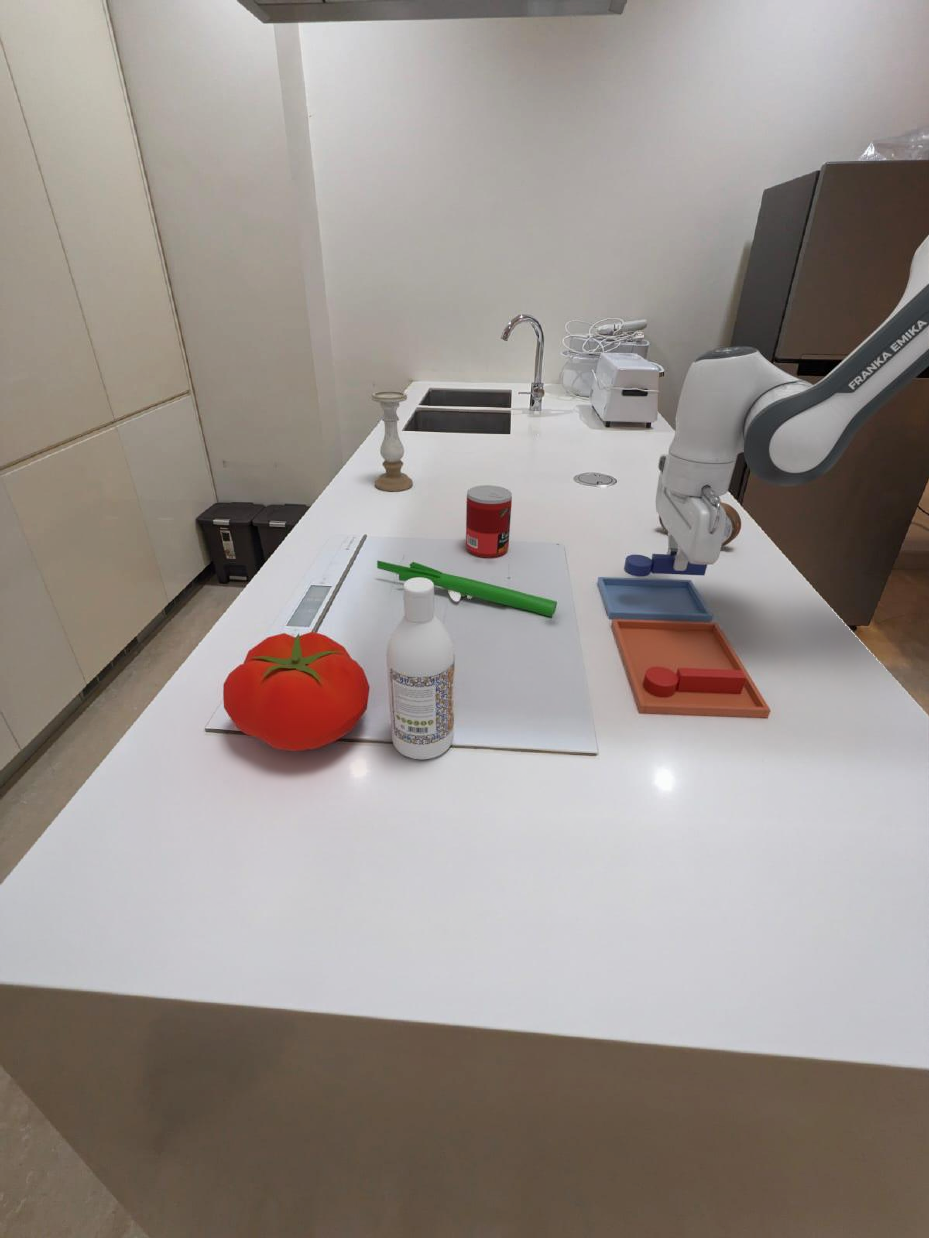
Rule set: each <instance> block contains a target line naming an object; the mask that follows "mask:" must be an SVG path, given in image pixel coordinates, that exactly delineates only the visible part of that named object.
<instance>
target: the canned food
mask: <svg viewBox="0 0 929 1238" xmlns="http://www.w3.org/2000/svg"><path fill="white" fill-rule="evenodd" d="M512 501H513V493H512V492H511V490H509V489H507V488H505V487H503V486H499V485H490V484H489V485H488V484H487V485H486V484H485V485H484V484H483V485H476V486H473V487H470V488H469V489H468V490H467V491H466V505H465V506H466V509H465V510H466V512H465V515H466V516H465V517H466V518H465V547H466V549H467V551H468V552H469V553H470V554H471V555H473V556H475V557H479V558H486V559H489V558H490V559H491V558H498V557H501V556H504V555H505V554H506V553H507V552H508V550H509V546H510V531H511V517H512V503H513V502H512Z"/></svg>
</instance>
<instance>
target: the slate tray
mask: <svg viewBox="0 0 929 1238" xmlns="http://www.w3.org/2000/svg"><path fill="white" fill-rule="evenodd" d="M597 577H598V578H597V582H596V583H597V588H598V590H599V593H600V596H601V599H602V602H603V603H602V604H603V607H604V608H605V612H606V615H607V618H608V620H612V619H630V620H659V621H688V622H712V619H713V614H712V612H711V610H710V609H709V607H708V605H707V604H706V603H705V600H704V599H703V597H702V596H701V594H700V592H699V591H698V589H697V588H696V586H695V584H694V583H693V580H691V579H679V578H678V579H677V578H676V579H675V578H644V577H618V576H617V577H616V576H615V577H614V576H597Z"/></svg>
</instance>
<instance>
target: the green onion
mask: <svg viewBox="0 0 929 1238" xmlns="http://www.w3.org/2000/svg"><path fill="white" fill-rule="evenodd" d="M376 568H377V569H378V570H382V571H385V572H386V571H387V572H389V573H393V574H398V581H399V582H400V581H401V582H406V581H407V580H409V579H411V578H417V577H421V578H427V579H429V580H431V581H432V582H433V584H434V587H439V588H442V589H445V590H448V591H447V594H448V595H449V597H450V599H451V600H452V601H454V602H456V603H457V602H459V601H461V598H462V597H463V598H465V597H466V599H468V600H469V599H470V600H471V599H472V598H478V599H481V600H485V601H489V602H492V603H497V604H500V605H503V606H507V607H511V608H516V609H520V610H524V611H528V612H532V613H536V614H539V615H542V616H547V617H549V618H552V617H553V616H554V614H555V612H556V609H557V606H558V601H557V600H553V599H549V598H545V597H542V596H541V597H540V596H536V595H533V594H529V593H525V592H521V591H518V590H514V589H510V588H507V587H503V586H499V585H496V584H491V583H487V582H483V581H479V580H475V579H471V578H467V577H463V576H458V575H453V574H449V573H445V572H442V571H440V570H438V569H434V568H432V567H429V566H427V565H424V564H421V563H417V562H415V561H412V562H411V563H410V564H409V566H405V565H399V564H395V563H391V562H387V561H382V560H376Z"/></svg>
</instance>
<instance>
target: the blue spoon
mask: <svg viewBox="0 0 929 1238" xmlns="http://www.w3.org/2000/svg"><path fill="white" fill-rule="evenodd" d="M673 556H676V555H671V554H667V553H666V554H665V553H652V555H651V558H650V557H648V556H646V555H643V554H630V555H626V557H625V559H624V560H625V561H624V565H623V571H624V572H625V573H626V574H628V575H630V576H633V577H636V578H644V577H648V576H650V575H651V574H655V575H678V576H679V575H682V576H705V575H706V571H707V568H708V565H700V564H691V563H689V561H688V564H687V568H686V570H684V571H676V570H675V569H674V568H673V566H672V561H673Z"/></svg>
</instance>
